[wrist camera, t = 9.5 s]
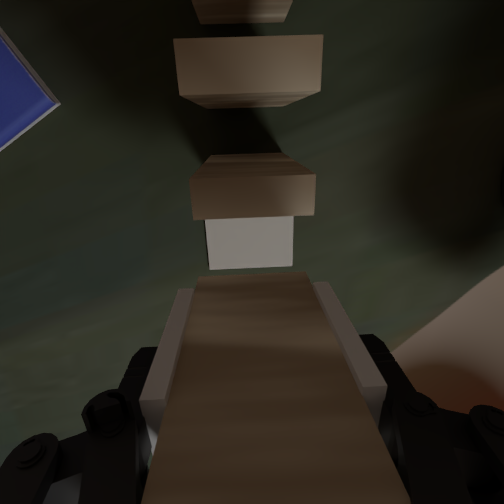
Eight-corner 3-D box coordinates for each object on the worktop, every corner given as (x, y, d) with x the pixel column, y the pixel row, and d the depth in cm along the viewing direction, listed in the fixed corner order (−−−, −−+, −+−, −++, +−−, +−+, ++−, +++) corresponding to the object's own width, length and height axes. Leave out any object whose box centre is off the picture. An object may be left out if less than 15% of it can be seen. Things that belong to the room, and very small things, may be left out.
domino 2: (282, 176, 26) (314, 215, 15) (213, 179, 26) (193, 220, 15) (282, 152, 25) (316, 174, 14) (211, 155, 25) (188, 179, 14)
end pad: (291, 264, 29) (292, 265, 29) (210, 268, 29) (209, 269, 29) (293, 182, 26) (294, 182, 26) (202, 185, 26) (201, 186, 26)
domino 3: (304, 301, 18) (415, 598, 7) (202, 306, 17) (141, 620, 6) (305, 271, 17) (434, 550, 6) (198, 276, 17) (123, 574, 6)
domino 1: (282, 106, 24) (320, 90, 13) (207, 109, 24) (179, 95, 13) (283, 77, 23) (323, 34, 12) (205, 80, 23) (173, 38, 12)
